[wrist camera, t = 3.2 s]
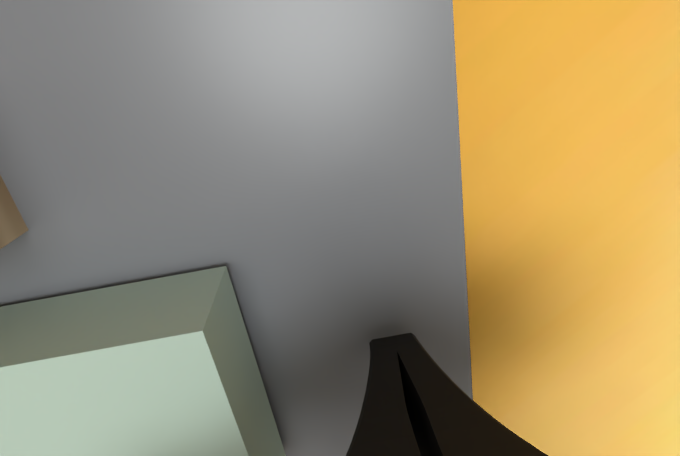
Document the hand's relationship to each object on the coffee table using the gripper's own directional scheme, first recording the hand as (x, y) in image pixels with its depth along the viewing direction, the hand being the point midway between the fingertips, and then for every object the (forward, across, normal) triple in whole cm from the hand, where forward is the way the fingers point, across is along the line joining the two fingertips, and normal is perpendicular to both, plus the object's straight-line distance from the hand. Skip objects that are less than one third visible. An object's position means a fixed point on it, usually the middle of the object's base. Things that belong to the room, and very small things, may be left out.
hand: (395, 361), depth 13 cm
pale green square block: (+1, +8, 0) cm, 8 cm away
